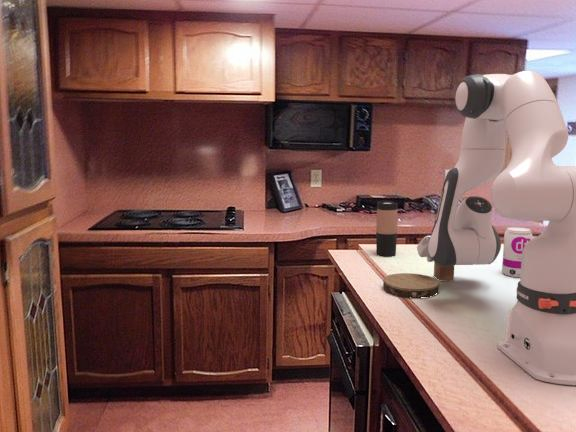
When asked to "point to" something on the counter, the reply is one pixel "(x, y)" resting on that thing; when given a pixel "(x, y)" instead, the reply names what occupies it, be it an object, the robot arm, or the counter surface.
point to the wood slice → (410, 285)
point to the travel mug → (386, 228)
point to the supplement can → (514, 249)
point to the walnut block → (443, 272)
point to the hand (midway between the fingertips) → (443, 259)
